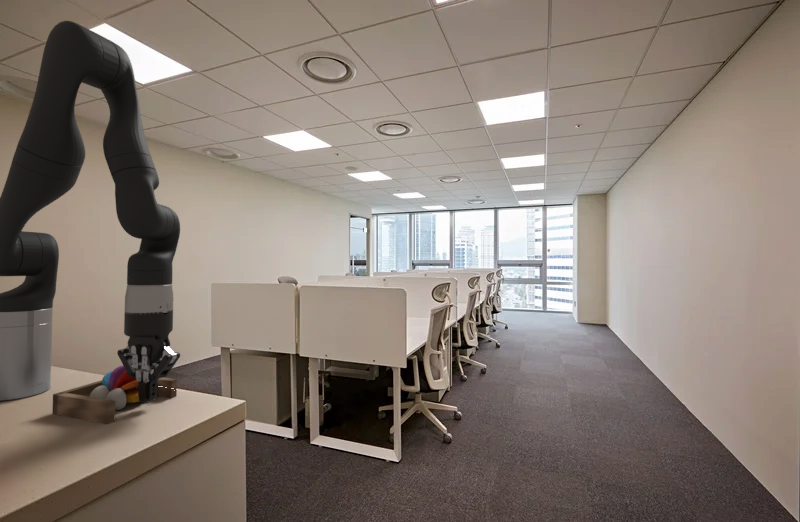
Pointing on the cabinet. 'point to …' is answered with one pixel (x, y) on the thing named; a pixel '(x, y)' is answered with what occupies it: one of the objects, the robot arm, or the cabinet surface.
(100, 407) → the bay
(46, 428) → the cabinet surface
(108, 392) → the rainbow disc stack
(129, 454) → the cabinet surface
